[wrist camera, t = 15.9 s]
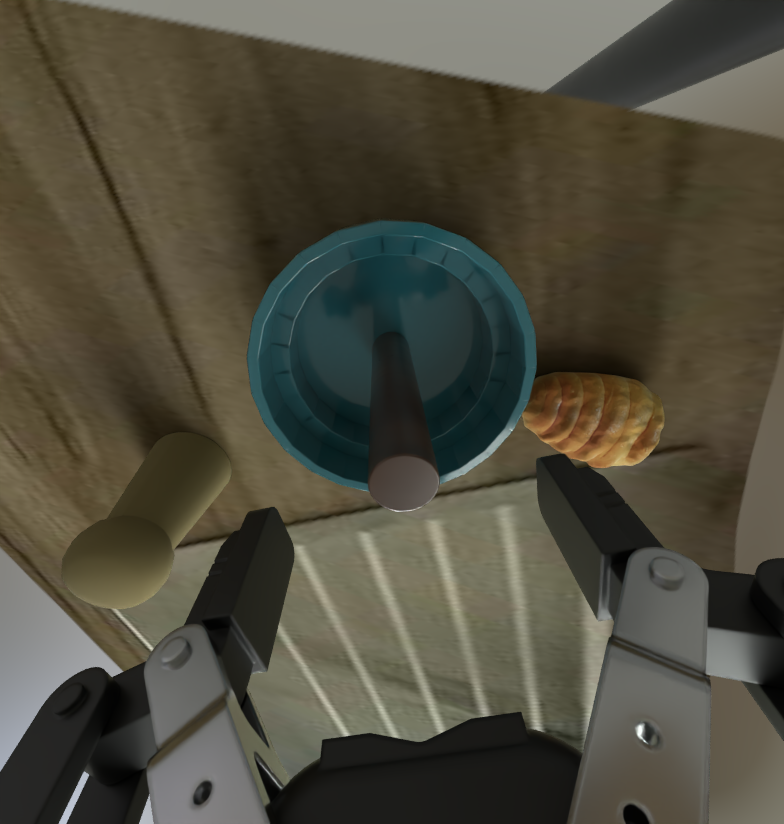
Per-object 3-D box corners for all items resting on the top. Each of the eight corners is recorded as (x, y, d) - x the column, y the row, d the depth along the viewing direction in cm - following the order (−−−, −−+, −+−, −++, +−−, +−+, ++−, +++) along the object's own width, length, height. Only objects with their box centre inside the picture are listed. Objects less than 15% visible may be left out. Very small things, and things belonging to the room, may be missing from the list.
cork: (230, 501, 31) (164, 631, 22) (152, 489, 31) (47, 619, 21) (233, 439, 29) (159, 556, 19) (147, 425, 28) (25, 539, 18)
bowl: (492, 190, 22) (530, 184, 16) (510, 419, 29) (541, 466, 23) (238, 252, 23) (196, 264, 18) (315, 458, 30) (301, 512, 24)
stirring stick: (405, 328, 24) (434, 447, 12) (412, 362, 26) (445, 505, 13) (368, 336, 25) (359, 462, 12) (377, 370, 26) (376, 518, 13)
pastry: (499, 429, 29) (515, 458, 26) (540, 347, 26) (564, 366, 23) (606, 457, 31) (634, 488, 27) (655, 382, 28) (694, 406, 24)
